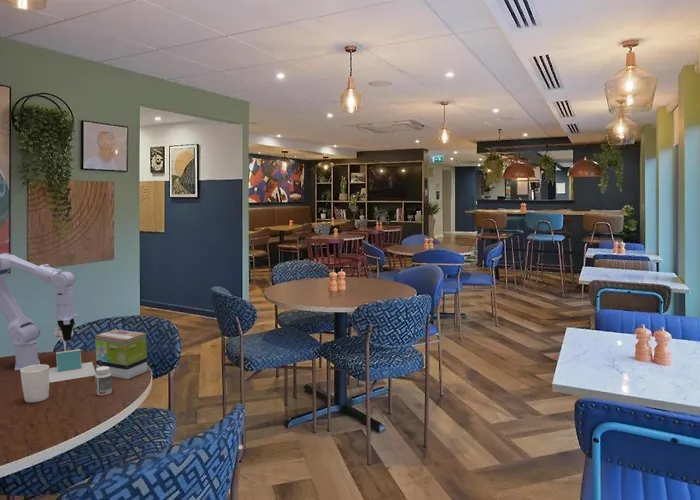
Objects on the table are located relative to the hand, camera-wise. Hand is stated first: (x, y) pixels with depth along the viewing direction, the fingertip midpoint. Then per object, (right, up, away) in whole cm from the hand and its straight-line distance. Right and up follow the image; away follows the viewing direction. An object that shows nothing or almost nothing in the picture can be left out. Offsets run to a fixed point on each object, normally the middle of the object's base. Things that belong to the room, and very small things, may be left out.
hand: (67, 339), depth 200 cm
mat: (+4, -11, -6) cm, 13 cm away
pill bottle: (+26, -13, -27) cm, 40 cm away
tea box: (+24, -11, -7) cm, 27 cm away
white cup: (+7, -14, -31) cm, 35 cm away
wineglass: (-8, -9, +13) cm, 18 cm away
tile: (+3, -11, -4) cm, 12 cm away
